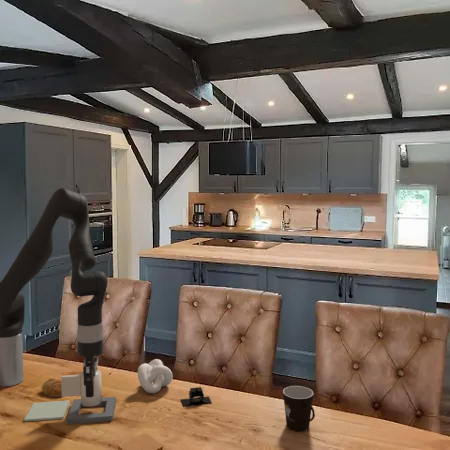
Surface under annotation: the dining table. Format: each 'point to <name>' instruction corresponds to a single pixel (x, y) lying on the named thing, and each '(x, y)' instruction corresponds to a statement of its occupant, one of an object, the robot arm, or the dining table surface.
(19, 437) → the dining table surface
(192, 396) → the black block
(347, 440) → the dining table surface
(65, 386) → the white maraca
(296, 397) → the coffee mug
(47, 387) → the pastry
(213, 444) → the dining table surface
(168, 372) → the white knot sculpture
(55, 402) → the trivet
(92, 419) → the socket
